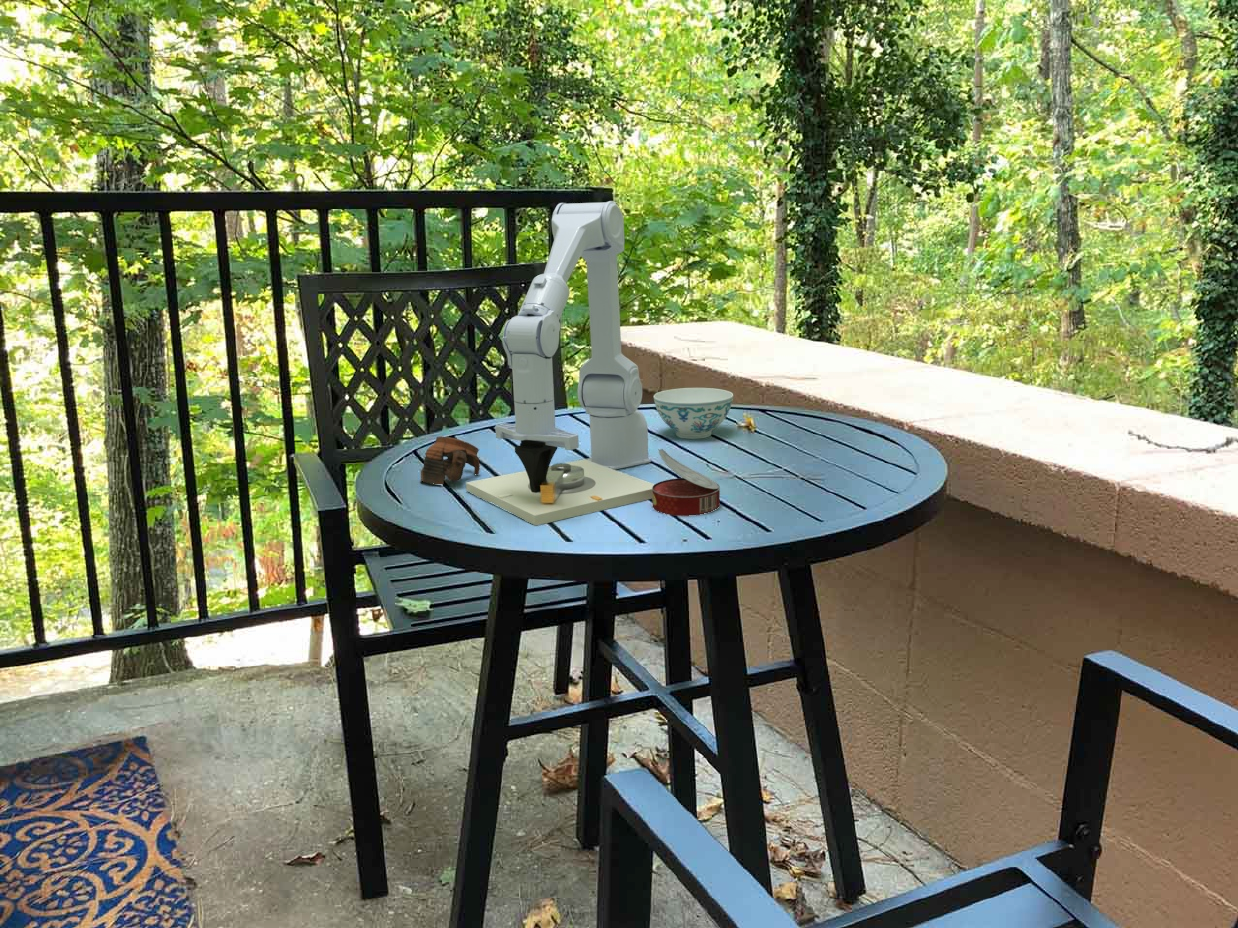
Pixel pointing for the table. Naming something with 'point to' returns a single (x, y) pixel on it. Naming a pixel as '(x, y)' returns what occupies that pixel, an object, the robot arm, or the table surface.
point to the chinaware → (693, 410)
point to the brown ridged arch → (448, 460)
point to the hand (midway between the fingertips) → (538, 491)
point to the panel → (563, 493)
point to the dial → (560, 481)
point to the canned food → (685, 491)
